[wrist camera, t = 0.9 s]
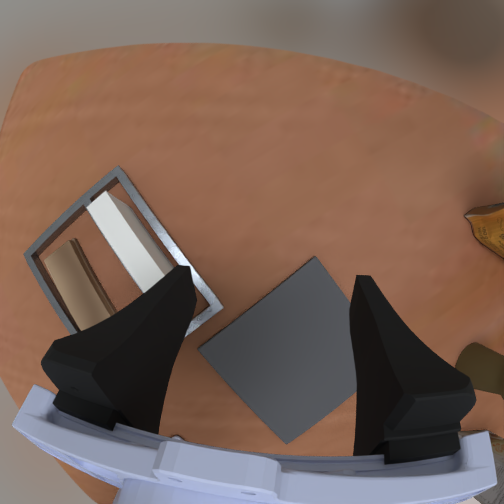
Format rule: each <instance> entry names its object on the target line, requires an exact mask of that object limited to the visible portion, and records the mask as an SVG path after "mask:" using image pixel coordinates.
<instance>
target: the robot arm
mask: <svg viewBox="0 0 504 504" xmlns="http://www.w3.org/2000/svg"><path fill="white" fill-rule="evenodd" d="M196 302H197V298H196V293H195V288H194V283H193V278H192V273H191V268H190V266H184V265H177V266H176V267H174V268H173V269H172V270H171V271H170V272H168V273H167V274H166V275H165V276H164V277H163V278H162V279H160V280H159V281H158V282H157V283H156V284H154V285H153V286H152V287H151V288H150V289H149V290H147V291H146V292H145V293H143V294H142V295H141V296H140V297H138V298H137V299H136V300H134V301H133V302H132V303H130V304H129V305H128V306H126V307H125V308H123V309H122V310H120V311H119V312H117V313H115V314H114V315H112V316H110V317H109V318H107V319H105V320H103V321H101V322H99V323H98V324H96V325H94V326H91V327H89V328H87V329H85V330H83V331H80V332H78V333H75V334H73V335H70V336H67V337H64V338H61V339H58V340H54V342H53V343H52V345H51V346H50V348H49V350H48V351H47V353H46V354H45V356H44V357H43V359H42V360H41V365H42V368H43V370H44V372H45V373H46V375H47V376H48V377H49V378H50V380H51V381H52V382H53V383H54V384H55V386H56V387H57V388H58V389H59V391H58V393H57V395H56V394H54V393H53V392H51V391H49V390H47V389H45V388H43V387H40V386H38V385H36V384H35V385H34V386H33V387H32V389H31V391H30V392H29V394H28V396H27V398H26V399H25V401H24V403H23V405H22V407H21V408H20V410H19V412H18V414H17V416H16V418H15V420H14V422H13V424H12V426H13V427H14V428H15V429H17V430H18V431H19V432H20V433H21V434H22V435H24V436H25V437H26V438H27V439H29V440H30V441H31V442H32V443H34V444H35V445H36V446H38V447H39V448H40V449H42V450H43V451H45V452H47V453H49V454H50V455H52V456H54V457H56V458H58V459H60V460H62V461H63V462H65V463H67V464H69V465H71V466H73V467H75V468H77V469H79V470H81V471H83V472H85V473H87V474H89V475H91V476H93V477H95V478H98V479H100V480H102V481H104V482H106V483H109V484H111V485H113V486H116V487H118V488H119V490H118V492H117V494H116V496H115V499H114V501H113V504H456V503H459V502H463V501H465V500H467V499H470V498H472V497H474V496H476V495H478V494H480V493H482V492H484V491H485V490H487V489H489V488H491V487H493V486H495V485H496V484H497V477H496V470H495V463H494V457H493V452H492V447H491V441H490V437H489V432H488V431H483V432H479V433H474V434H470V435H466V436H463V437H461V438H460V439H459V436H458V432H459V431H460V430H461V425H460V421H461V420H462V419H463V418H464V417H465V416H466V415H467V413H468V412H469V411H470V410H471V409H472V408H473V406H474V405H475V403H476V396H475V392H474V388H473V385H472V382H471V379H470V377H468V376H467V375H465V374H464V373H462V372H460V371H459V370H457V369H456V368H454V367H452V366H451V365H450V364H448V363H447V362H446V361H444V360H443V359H442V358H440V357H439V356H438V355H437V354H435V353H434V352H433V351H432V350H431V349H430V348H429V347H427V346H426V345H425V344H424V343H423V342H422V341H421V340H420V339H419V338H418V337H417V336H416V335H415V334H414V333H413V332H412V331H411V330H410V329H409V328H408V326H407V325H406V324H405V323H404V322H403V320H402V319H401V318H400V317H399V315H398V314H397V313H396V312H395V310H394V309H393V308H392V306H391V305H390V303H389V302H388V301H387V299H386V298H385V296H384V295H383V293H382V292H381V291H380V289H379V288H378V286H377V285H376V283H375V281H374V280H373V279H372V277H371V276H368V275H356V280H355V285H354V290H353V295H352V299H351V304H350V308H349V323H350V335H351V342H352V349H353V356H354V363H355V370H356V382H357V404H356V428H355V441H354V451H353V456H338V457H324V456H293V455H278V454H267V453H257V452H248V451H240V450H233V449H226V448H220V447H214V446H208V445H202V444H197V443H192V442H187V441H184V440H183V439H182V438H181V437H179V436H174V437H172V438H169V437H165V436H161V435H158V432H159V426H160V419H161V414H162V409H163V404H164V399H165V395H166V391H167V387H168V382H169V379H170V375H171V371H172V368H173V365H174V362H175V359H176V356H177V354H178V352H179V349H180V347H181V345H182V342H183V340H184V337H185V335H186V333H187V330H188V328H189V325H190V323H191V320H192V317H193V314H194V310H195V306H196Z"/></svg>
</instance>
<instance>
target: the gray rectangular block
mask: <svg viewBox="0 0 504 504" xmlns="http://www.w3.org/2000/svg"><path fill="white" fill-rule="evenodd" d="M86 208H87V209H88V211H89V212H90V214H91V216H92V217H93V219H94V220H95V222H96V224H97V225H98V227H99V228H100V230H101V231H102V233H103V234H104V236H105V238H106V239H107V241H108V242H109V244H110V245H111V247H112V248H113V250H114V251H115V253H116V254H117V255H118V257H119V258H120V260H121V261H122V263H123V264H124V266H125V267H126V268H127V270H128V271H129V273H130V274H131V276H132V277H133V278H134V280H135V281H136V282H137V284H138V285H139V287H140V288H141V289H142V291H143V292H144V293H145V292H146V291H147V290H149V289H150V288H151V287H152V286H153V285H154V284H156V283H157V282H158V281H159V280H160V279H162V278H163V277H164V276H165V275H166V274H167V273H168V272H170V271H171V270H172V269H173V268H174V266H173V265H172V264H171V262H170V261H169V260H168V258H167V257H166V256H165V254H164V253H163V252H162V250H161V249H160V247H159V246H158V245H157V243H156V242H155V241H154V239H153V238H152V236H151V235H150V234H149V232H148V231H147V229H146V228H145V227H144V225H143V224H142V222H141V221H140V220H139V218H138V217H137V215H136V214H135V212H134V211H133V210H132V208H131V207H129V206H128V205H126V204H125V203H123V202H122V201H120V200H119V199H117V198H116V197H114V196H113V195H111V194H110V193H108V192H107V191H105V192H104V193H102V194H101V195H100V196H99V197H98V198H97V199H95V200H94V201H93V202H92V203H91V204H90V205H89V206H87V207H86Z"/></svg>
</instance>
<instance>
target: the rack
mask: <svg viewBox="0 0 504 504" xmlns="http://www.w3.org/2000/svg"><path fill="white" fill-rule="evenodd" d="M119 181H120V183H121V184H122V186H123V187H124V188H125V190H126V191H127V193H128V194H129V196H130V197H131V199H132V200H133V202H134V203H135V204H136V206H137V207H138V209H139V210H140V212H141V213H142V214H143V216H144V217H145V219H146V220H147V221H148V223H149V224H150V226H151V227H152V228H153V230H154V231H155V233H156V234H157V235H158V237H159V238H160V239H161V241H162V242H163V244H164V245H165V246H166V248H167V249H168V250H169V252H170V253H171V254H172V256H173V257H174V258H175V260H176V261H177V262H178V264H179V265H184V266H190V268H191V273H192V278H193V283H194V285H195V286H196V287H197V288H198V290H199V291H200V292H201V294H202V295H203V296H204V297H205V299H206V300H207V301H208V302H209V304H210V306H208V307H207V308H206V309H204V310H203V311H202V312H201V313H199V314H198V315H197V316H195V317H194V318H193V319H192V320H191V323H190V325H189V328H188V330H187V333H186V335H185V337H186V336H187V335H189V334H190V333H191V332H193V331H194V330H195V329H196V328H198V327H199V326H200V325H202V324H203V323H204V322H206V321H207V320H208V319H209V318H211V317H212V316H213V315H215V314H216V313H217V312H219V311H220V310H221V309H222V308H224V305H223V304H222V303H221V302H220V300H219V298H218V297H217V296H216V295H215V293H214V292H213V291H212V289H211V288H210V287H209V286H208V284H207V283H206V282H205V281H204V279H203V278H202V277H201V275H200V274H199V273H198V271H197V270H196V269H195V268H194V266H193V265H192V264H191V262H190V261H189V260H188V258H187V257H186V256H185V254H184V253H183V252H182V250H181V249H180V248H179V246H178V245H177V244H176V242H175V241H174V240H173V238H172V237H171V236H170V234H169V233H168V232H167V230H166V229H165V228H164V226H163V225H162V223H161V222H160V221H159V219H158V218H157V217H156V215H155V214H154V212H153V211H152V210H151V208H150V207H149V206H148V204H147V203H146V201H145V200H144V198H143V197H142V196H141V194H140V193H139V191H138V190H137V189H136V187H135V186H134V184H133V183H132V181H131V180H130V179H129V177H128V176H127V175H126V174H125V172H124V171H123V169H122V168H121V167H120V166H119V165H118V166H117V167H115V168H114V169H113V170H112V171H110V172H109V173H108V174H107V175H106V176H104V177H103V178H102V179H101V180H100V181H99V182H97V183H96V184H95V185H94V186H93V187H92V188H90V189H89V190H88V191H87V192H86V193H85V194H84V195H82V196H81V197H80V198H79V199H78V200H77V201H76V202H75V203H74V204H73V205H72V206H70V207H69V208H68V209H67V210H66V211H65V212H64V213H63V214H62V215H61V216H60V217H59V218H58V219H57V220H56V221H55V222H54V223H53V224H52V225H51V226H50V227H49V228H48V229H47V230H46V231H45V232H44V233H43V234H42V235H41V236H40V237H39V238H38V239H37V240H36V241H35V242H34V243H33V244H32V245H31V246H30V247H29V248H28V250H27V251H26V252H25V253H24V256H25V258H26V261H27V263H28V265H29V267H30V269H31V270H32V272H33V274H34V276H35V278H36V280H37V281H38V283H39V285H40V287H41V288H42V290H43V292H44V293H45V295H46V297H47V298H48V300H49V302H50V303H51V305H52V307H53V308H54V310H55V311H56V313H57V315H58V316H59V318H60V319H61V321H62V322H63V324H64V325H65V327H66V328H67V330H68V331H69V333H70V334H71V335H73V334H75V333H78V332H80V331H81V330H80V328H79V327H78V325H77V323H76V321H75V320H74V318H73V316H72V315H71V313H70V311H69V309H68V307H67V306H66V304H65V302H64V300H63V298H62V296H61V295H60V293H59V292H58V290H57V288H56V287H55V285H54V283H53V282H52V280H51V278H50V277H49V275H48V273H47V271H46V270H45V268H44V266H43V264H42V263H41V261H40V259H39V257H38V256H39V255H40V254H41V253H42V252H43V251H44V250H45V249H46V248H47V247H48V246H49V245H50V244H51V243H52V242H53V241H54V240H55V239H56V238H57V237H58V236H59V235H60V234H61V233H62V232H63V231H64V230H65V229H66V228H67V227H68V226H69V225H70V224H71V223H72V222H74V221H75V220H76V219H77V218H78V217H79V216H80V215H81V214H82V213H83V212H84V211H86V210H87V211H88V209H87V208H86V207H87V206H89V205H90V204H91V203H92V202H93V201H94V200H95V199H97V198H98V197H99V196H100V195H101V194H102V193H104V192H105V191H109V190H110V189H111V188H112V187H113V186H115V185H116V184H117V183H118V182H119ZM88 212H89V211H88ZM89 214H90V212H89ZM90 216H91V214H90ZM91 217H92V216H91ZM92 219H93V217H92ZM93 220H94V219H93ZM94 222H95V220H94ZM95 224H96V222H95ZM96 225H97V224H96ZM97 227H98V225H97ZM98 228H99V227H98ZM99 230H100V228H99ZM100 231H101V230H100ZM101 233H102V231H101ZM102 234H103V233H102ZM103 236H104V234H103ZM104 237H105V236H104ZM105 239H106V238H105ZM106 241H107V239H106ZM107 242H108V241H107ZM108 244H109V242H108ZM109 245H110V244H109ZM110 247H111V245H110ZM111 248H112V247H111ZM112 250H113V248H112ZM113 251H114V250H113ZM114 253H115V251H114ZM115 254H116V253H115ZM116 255H117V254H116ZM117 257H118V255H117ZM118 258H119V257H118ZM119 260H120V258H119ZM120 261H121V260H120ZM121 263H122V261H121ZM122 264H123V263H122ZM123 266H124V264H123ZM124 267H125V266H124ZM125 268H126V267H125ZM126 270H127V268H126ZM127 271H128V270H127ZM128 273H129V271H128ZM129 274H130V273H129ZM130 276H131V274H130ZM131 277H132V276H131ZM132 278H133V277H132ZM133 280H134V278H133ZM134 281H135V280H134ZM135 283H136V284H137V282H136V281H135ZM137 285H138V284H137ZM138 287H139V285H138ZM139 288H140V287H139ZM140 289H141V288H140ZM141 291H142V289H141ZM142 292H143V291H142ZM143 293H144V292H143ZM185 337H184V338H185Z"/></svg>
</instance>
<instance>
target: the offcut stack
mask: <svg viewBox="0 0 504 504" xmlns="http://www.w3.org/2000/svg"><path fill="white" fill-rule="evenodd" d="M44 262H45V264H46V266H47V268H48V270H49V272H50V275H51V277H52V279H53V281H54V283H55V285H56V287H57V289H58V290H59V292H60V294H61V296H62V298H63V300H64V302H65V304H66V306H67V307H68V309H69V311H70V313H71V315H72V316H73V318H74V320H75V321H76V323H77V325H78V327H79V328H80V330H81V331H83V330H85V329H87V328H89V327H91V326H94V325H96V324H98V323H99V322H101V321H103V320H105V319H107V318H109V317H110V316H112V315H114V314H115V313H117V311H116V309H115V307H114V306H113V304H112V302H111V301H110V299H109V297H108V296H107V294H106V292H105V290H104V289H103V287H102V285H101V283H100V282H99V280H98V278H97V276H96V274H95V273H94V271H93V269H92V267H91V265H90V263H89V262H88V260H87V258H86V256H85V254H84V252H83V250H82V248H81V246H80V244H79V242H78V240H77V239H75V238H73V239H72V240H68V241H67V242H66V243H65V244H63V245H62V246H61V247H60V248H58V249H57V250H56V251H55V252H53V253H52V254H51V255H50V256H49V257H47V258H46V259H45V260H44Z"/></svg>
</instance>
